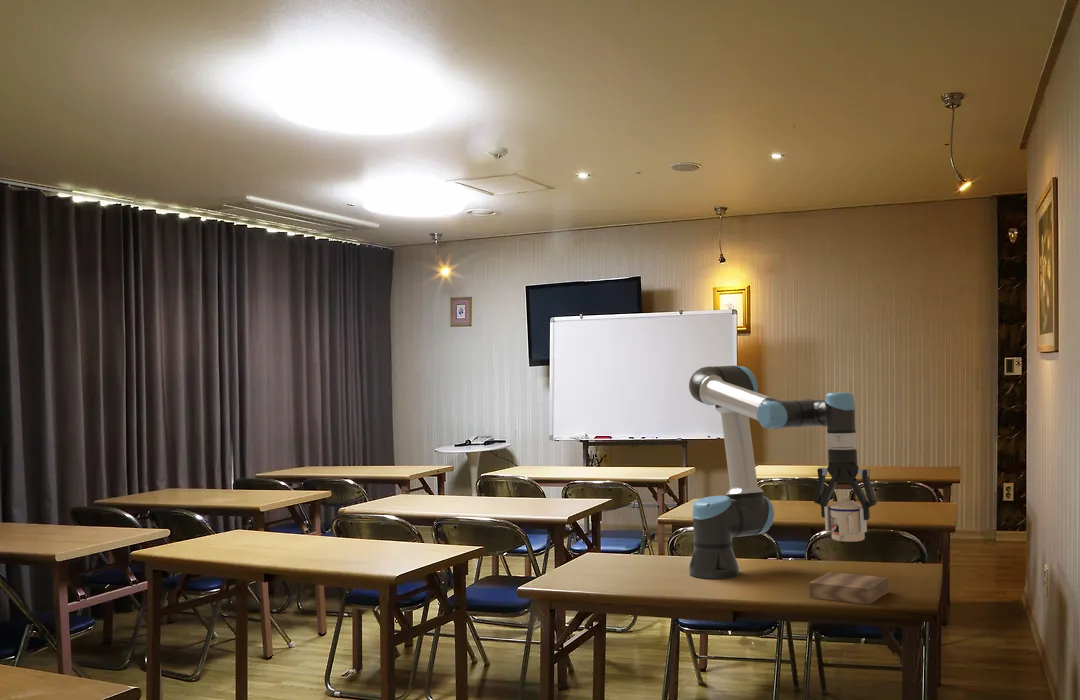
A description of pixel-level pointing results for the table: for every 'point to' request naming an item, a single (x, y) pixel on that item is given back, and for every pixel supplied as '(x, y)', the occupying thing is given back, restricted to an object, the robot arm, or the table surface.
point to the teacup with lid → (846, 521)
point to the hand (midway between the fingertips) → (845, 530)
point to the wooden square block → (848, 587)
